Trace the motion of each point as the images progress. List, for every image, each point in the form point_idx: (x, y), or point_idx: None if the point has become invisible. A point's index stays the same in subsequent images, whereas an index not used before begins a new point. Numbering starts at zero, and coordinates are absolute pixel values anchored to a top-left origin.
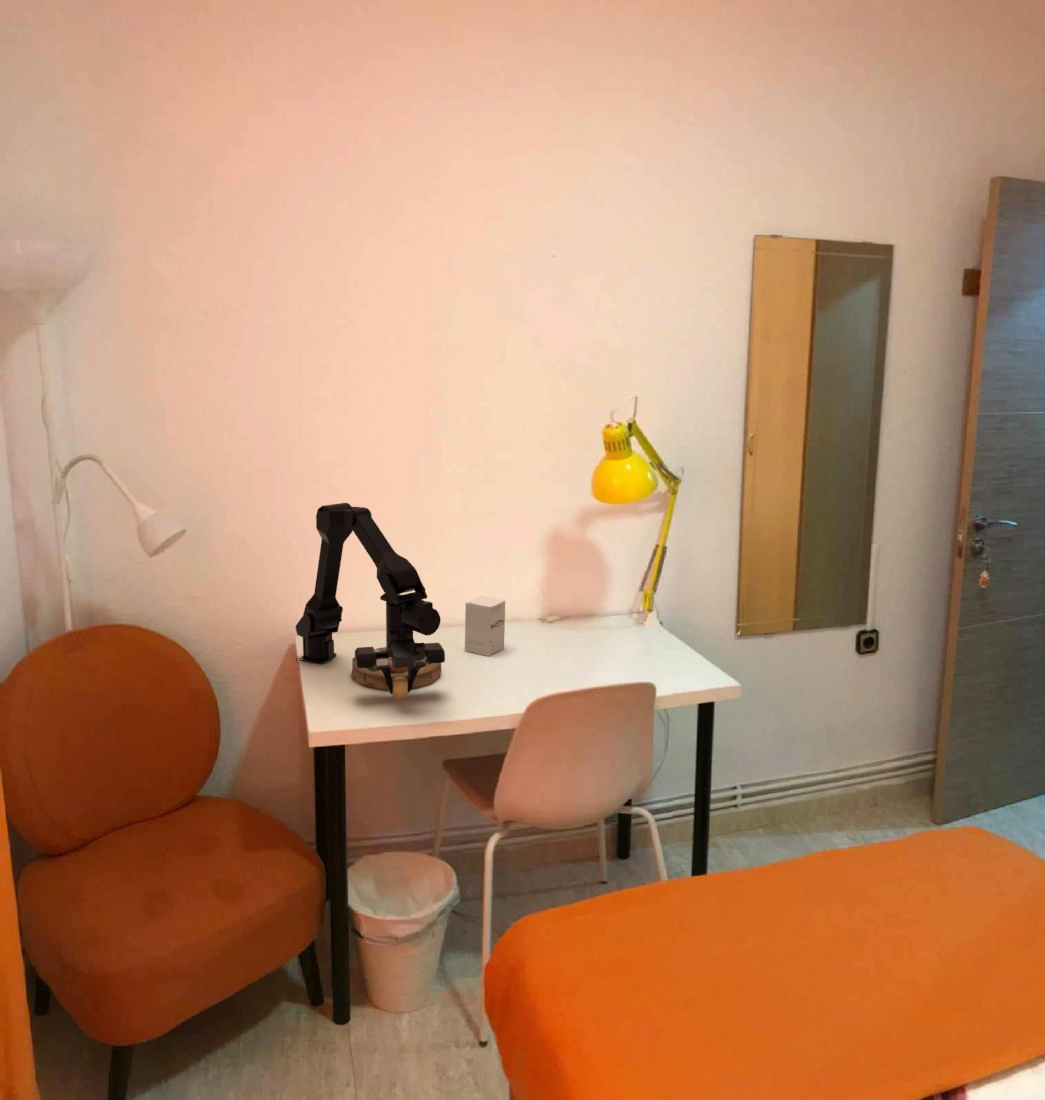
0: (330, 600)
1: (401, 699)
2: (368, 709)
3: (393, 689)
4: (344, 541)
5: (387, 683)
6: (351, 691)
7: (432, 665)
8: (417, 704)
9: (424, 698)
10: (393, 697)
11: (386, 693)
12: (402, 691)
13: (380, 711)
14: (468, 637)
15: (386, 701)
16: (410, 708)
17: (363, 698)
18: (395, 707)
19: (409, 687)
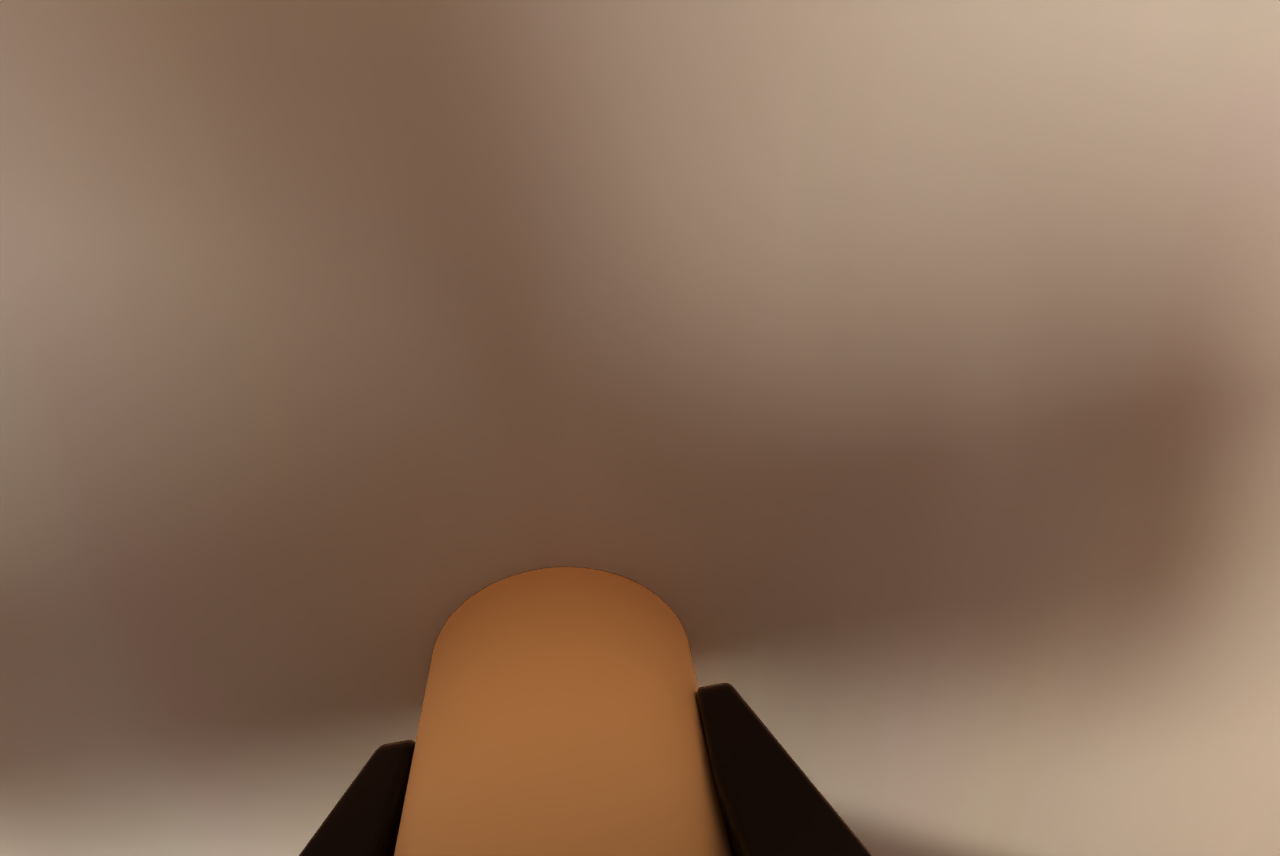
0: None
1: (529, 579)
2: (1181, 149)
3: (693, 747)
4: None
5: (867, 852)
6: (1217, 797)
7: None
8: (181, 389)
9: (123, 640)
10: (672, 625)
11: None
12: (501, 696)
13: (961, 16)
14: None
15: (789, 515)
16: (286, 176)
17: (1129, 613)
18: (626, 242)
19: (359, 823)
